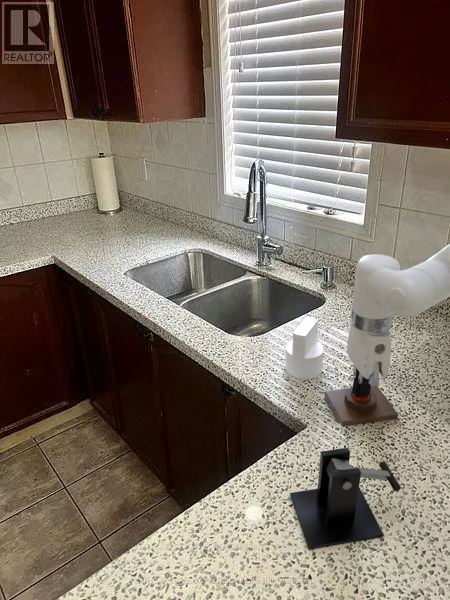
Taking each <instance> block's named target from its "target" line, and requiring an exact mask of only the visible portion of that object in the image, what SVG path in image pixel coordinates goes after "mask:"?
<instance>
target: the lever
mask: <svg viewBox="0 0 450 600" xmlns="http://www.w3.org/2000/svg"><path fill="white" fill-rule="evenodd" d="M378 466H379V468H380V469H375V468H364V467H358V466H357V467H356V466H352V465H351V464H350V461H349V462H348V460H342V459H334V458H332V459H331V461H330V463H329V465H328V467H327V469H326V471H327V473H328V475H329V477H330V472H333V471H339V470H346V469H353V468H359V469H360V471H361V477H360V479H370V480H380V481H388V484H389V485H390V487H391V488H392V490H393V491H394V492H399V491H400V490H401V489H402V486H401V485H400V483H399V481H398V480H397V478H396V477H395V475H394V473H393V472H392V470H391V468H390V467H389V465H388V464H387V462H386V461H384V460H383V461H380V462H379V463H378Z"/></svg>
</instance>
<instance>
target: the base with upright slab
mask: <svg viewBox="0 0 450 600" xmlns="http://www.w3.org/2000/svg"><path fill="white" fill-rule="evenodd" d="M318 326H319V319H317V318H314V317H309V316H306V317H304V319H303V320H302V321H301V322H300V324H299V325H298V326H297V327H296V329H295V330H294V331H293V332H292V339H291V340H288V342H287V343H286V344H285V357H284V358H285V360H284V361H285V363H284V369H285V371H286V372H287V374H288V375H290V376H291V377H293V378H295V379H300V380H311V379H316V378H317V377H319V376H320V375H321V374H322V372H323V365H324V364H323V363H324V351H325V349H324V346H323V344H322V343H320V341H317V340H318Z"/></svg>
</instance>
